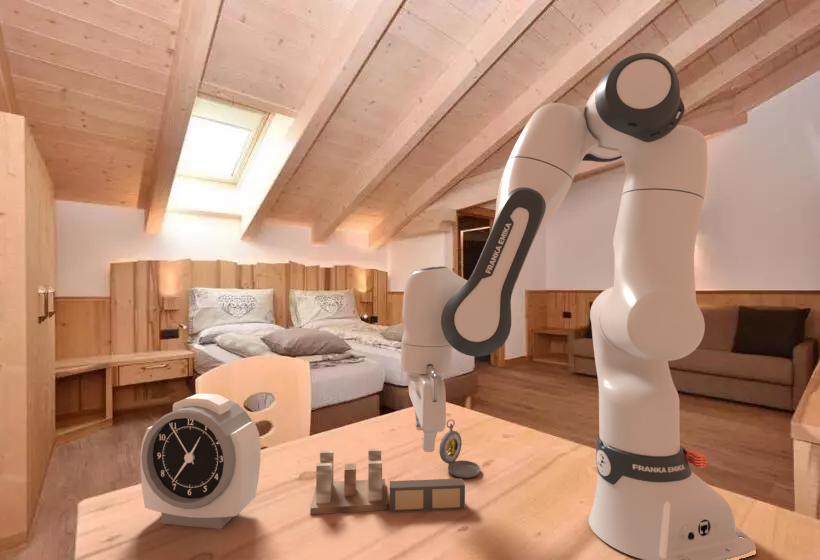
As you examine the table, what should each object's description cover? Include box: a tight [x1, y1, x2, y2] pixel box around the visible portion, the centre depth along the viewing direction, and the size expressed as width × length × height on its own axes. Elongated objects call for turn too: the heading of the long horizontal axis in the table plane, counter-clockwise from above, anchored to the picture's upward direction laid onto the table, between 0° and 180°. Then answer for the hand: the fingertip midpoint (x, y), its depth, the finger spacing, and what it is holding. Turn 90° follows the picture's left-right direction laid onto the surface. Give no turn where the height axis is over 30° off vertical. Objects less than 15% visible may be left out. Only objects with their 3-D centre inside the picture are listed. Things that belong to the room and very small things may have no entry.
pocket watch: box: [439, 419, 481, 479], centre depth 84 cm, size 8×8×10 cm
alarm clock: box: [139, 393, 262, 530], centre depth 67 cm, size 18×8×20 cm, turn 82°
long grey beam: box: [389, 477, 466, 514], centre depth 70 cm, size 13×2×4 cm, turn 95°
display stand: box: [309, 448, 388, 515], centre depth 73 cm, size 13×9×8 cm
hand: (424, 438), depth 70 cm, fingers open, 8 cm apart
